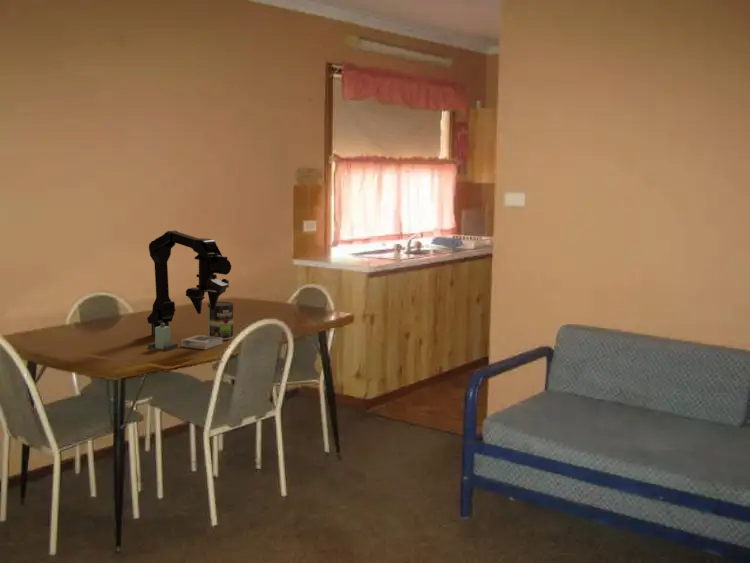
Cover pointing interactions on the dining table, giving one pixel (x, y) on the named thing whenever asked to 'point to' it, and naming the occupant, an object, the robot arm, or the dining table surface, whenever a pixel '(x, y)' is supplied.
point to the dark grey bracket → (166, 348)
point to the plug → (162, 336)
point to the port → (202, 341)
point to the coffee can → (221, 320)
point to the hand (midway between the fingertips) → (206, 311)
